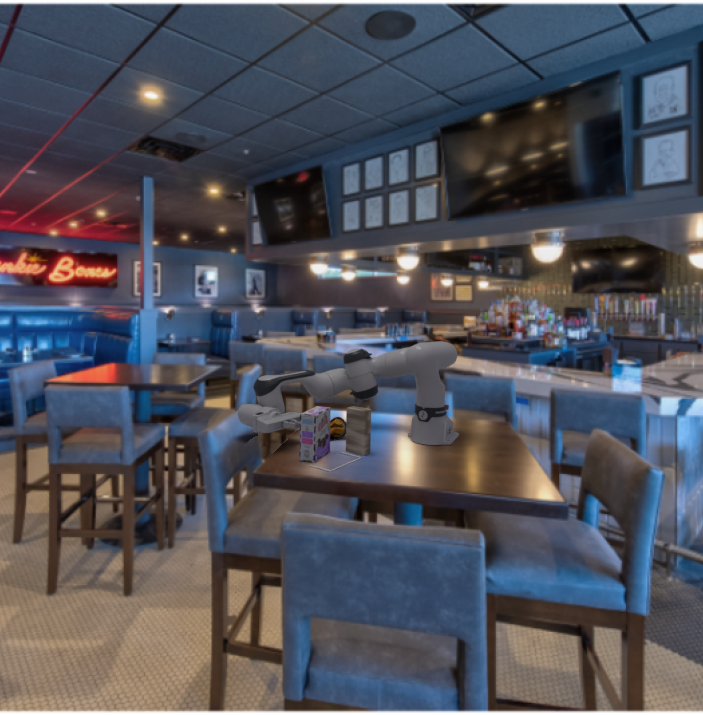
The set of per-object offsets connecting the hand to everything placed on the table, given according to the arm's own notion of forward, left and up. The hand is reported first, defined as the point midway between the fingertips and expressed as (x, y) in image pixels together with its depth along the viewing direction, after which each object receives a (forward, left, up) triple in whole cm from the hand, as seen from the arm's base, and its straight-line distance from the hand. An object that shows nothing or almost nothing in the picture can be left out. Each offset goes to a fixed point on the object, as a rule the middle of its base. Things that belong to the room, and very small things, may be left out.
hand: (297, 425), depth 167 cm
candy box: (0, +8, -10) cm, 13 cm away
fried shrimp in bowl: (-19, -1, -10) cm, 21 cm away
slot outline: (0, +17, -10) cm, 20 cm away
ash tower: (-13, +17, -10) cm, 24 cm away
